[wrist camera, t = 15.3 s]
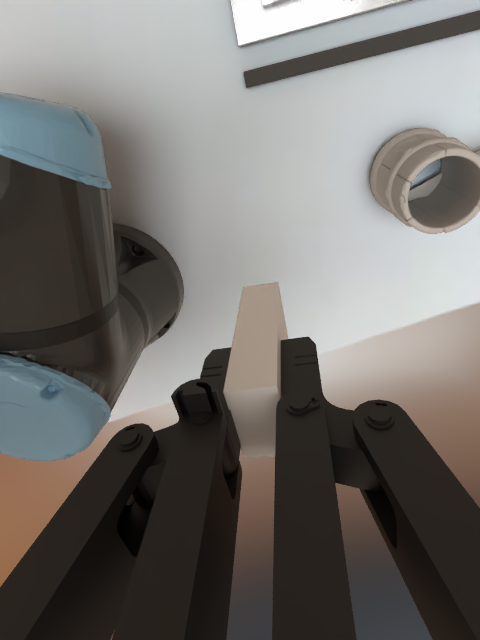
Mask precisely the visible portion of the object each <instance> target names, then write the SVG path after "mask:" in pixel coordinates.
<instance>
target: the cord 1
mask: <svg viewBox="0 0 480 640" xmlns="http://www.w3.org/2000/svg"><path fill="white" fill-rule="evenodd" d="M478 29H480V11H476V12H472V13H468V14H464V15H460V16H456V17H453V18H449V19H445V20H441V21H437V22H433V23H430V24H426V25H422V26H418V27H414V28H410V29H407V30H403V31H399V32H395V33H391V34H387V35H384V36H380V37H376V38H372V39H368V40H364V41H360V42H357V43H353V44H349V45H345V46H341V47H337V48H334V49H330V50H326V51H322V52H318V53H314V54H311V55H307V56H303V57H299V58H295V59H291V60H288V61H284V62H280V63H276V64H272V65H268V66H264V67H261V68H257V69H253V70H249V71H245V72H244V77H245V83H246V88H248V87H252V86H256V85H260V84H264V83H268V82H272V81H276V80H280V79H284V78H288V77H292V76H296V75H300V74H304V73H308V72H312V71H316V70H320V69H324V68H328V67H332V66H336V65H340V64H344V63H348V62H352V61H356V60H359V59H363V58H367V57H371V56H375V55H379V54H383V53H387V52H391V51H395V50H399V49H403V48H407V47H411V46H415V45H419V44H423V43H427V42H431V41H435V40H439V39H443V38H447V37H451V36H455V35H459V34H463V33H467V32H471V31H474V30H478Z"/></svg>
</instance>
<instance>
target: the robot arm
mask: <svg viewBox="0 0 480 640" xmlns="http://www.w3.org/2000/svg"><path fill="white" fill-rule="evenodd" d="M109 189H112V187H111V181H110V180H109V179H108V177H107V171H106V165H105V159H104V152H103V145H102V139H101V135H100V132H99V129H98V127H97V126H96V124H95V123H94V121H93V120H92V119H91V118H90V117H89V116H88V115H87V114H86V113H84V112H83V111H81V110H79V109H77V108H75V107H71V106H68V105H64V104H59V103H55V102H50V101H45V100H40V99H35V98H30V97H25V96H19V95H14V94H8V93H3V92H0V453H2V454H5V455H8V456H11V457H16V458H20V459H26V460H33V461H56V460H62V459H66V458H69V457H71V456H74V455H75V454H77V453H78V452H81V451H83V450H85V449H86V448H87V447H88V446H89V445H90V444H91V443H92V442H93V440H94V439H95V438H96V436H97V435H98V433H99V432H100V430H101V429H102V427H103V426H104V425H105V424H106V423H107V422H108V420H109V418H110V416H111V415H110V413H111V411H112V409H113V407H114V405H115V403H116V401H117V399H118V397H119V395H120V393H121V392H122V390H123V388H124V386H125V384H126V382H127V380H128V378H129V376H130V374H131V372H132V370H133V368H134V366H135V364H136V362H137V360H138V358H139V356H140V355H141V353H142V351H143V349H144V348H146V347H147V346H149V345H150V344H151V343H153V342H154V341H156V340H157V339H159V338H160V337H162V336H163V335H164V334H165V333H166V332H167V331H168V330H169V329H170V328H171V326H172V325H173V323H174V322H175V320H176V318H177V316H178V313H179V311H180V309H181V306H182V302H183V293H184V292H183V282H182V278H181V275H180V272H179V269H178V267H177V265H176V263H175V262H174V260H173V258H172V257H171V256H170V254H169V253H168V252H167V251H166V250H165V249H164V248H163V247H162V246H161V245H160V244H159V243H158V242H157V241H156V240H154V239H153V238H151V237H150V236H148V235H147V234H145V233H143V232H141V231H139V230H136V229H134V228H131V227H127V226H123V225H117V224H112V213H111V201H110V190H109ZM202 369H203V370H202V372H201V376H200V377H201V378H200V379H195V380H191V381H188V382H186V383H184V384H182V385H181V386H179V387H178V388H177V389H176V390H175V391H174V393H173V394H172V396H171V398H172V400H173V403H174V405H175V408H176V410H177V412H178V415H179V421H178V423H176V424H174V425H172V426H169V427H167V428H164V429H161V430H158V431H155V432H153V430H152V429H151V428H150V427H149V426H148V425H146V424H133V425H130V426H127V427H125V428H123V429H122V430H120V431H119V432H118V433H117V434H116V435H115V436H114V437H113V438H112V439H111V440H110V441H109V443H108V444H107V446H106V447H105V448H104V449H103V451H102V452H101V453H100V455H99V456H98V458H97V459H96V460H95V461H94V463H93V464H92V466H91V467H90V468H89V470H88V471H87V472H86V473H85V475H84V476H83V478H82V479H81V480H80V481H79V483H78V484H77V485H76V487H75V488H74V489H73V491H72V492H71V493H70V495H69V496H68V498H67V499H66V500H65V502H64V503H63V504H62V506H61V507H60V508H59V510H58V511H57V512H56V514H55V515H54V516H53V518H52V519H51V520H50V522H49V523H48V524H47V526H46V527H45V528H44V530H43V531H42V532H41V534H40V535H39V536H38V538H37V539H36V540H35V542H34V543H33V544H32V546H31V547H30V548H29V550H28V551H27V552H26V554H25V555H24V556H23V558H22V559H21V560H20V562H19V563H18V564H17V566H16V567H15V568H14V570H13V571H12V572H11V574H10V575H9V576H8V578H7V579H6V580H5V582H4V583H3V585H2V586H1V587H0V640H110V639H111V636H112V634H113V633H114V635H113V639H112V640H226V638H227V628H228V617H229V607H230V606H229V605H230V595H231V586H232V575H233V565H234V554H235V544H236V533H237V522H238V512H239V502H240V491H241V480H242V468H241V465H240V461H239V455H240V448H241V451H242V454H243V457H244V458H251V457H252V458H253V457H266V456H275V502H274V503H275V505H274V564H273V565H274V566H273V567H274V568H273V627H272V640H357V639H356V632H355V625H354V619H353V618H354V617H353V611H352V603H351V596H350V588H349V581H348V574H347V566H346V559H345V552H344V544H343V537H342V530H341V522H340V516H339V508H338V501H337V494H336V487H335V483H339V484H343V485H347V486H352V487H356V488H359V489H360V491H361V493H362V496H363V497H364V500H365V502H366V504H367V505H368V508H369V510H370V511H371V514H372V516H373V518H374V520H375V522H376V524H377V526H378V528H379V530H380V532H381V534H382V537H383V538H384V541H385V543H386V545H387V547H388V549H389V551H390V553H391V555H392V557H393V559H394V561H395V563H396V565H397V567H398V569H399V571H400V573H401V576H402V578H403V580H404V582H405V584H406V586H407V588H408V590H409V592H410V594H411V596H412V598H413V600H414V602H415V604H416V606H417V608H418V611H419V612H420V615H421V617H422V619H423V621H424V623H425V624H426V627H427V629H428V631H429V633H430V635H431V637H432V639H433V640H480V508H479V507H478V506H477V504H476V503H475V502H474V500H473V499H472V498H471V496H470V495H469V494H468V492H467V491H466V490H465V489H464V487H463V486H462V485H461V484H460V482H459V481H458V479H457V478H456V477H455V476H454V474H453V473H452V472H451V470H450V469H449V468H448V467H447V465H446V464H445V463H444V461H443V460H442V459H441V457H440V456H439V455H438V454H437V452H436V451H435V450H434V448H433V447H432V446H431V444H430V443H429V442H428V441H427V439H426V438H425V437H424V435H423V434H422V433H421V431H420V430H419V429H418V428H417V426H416V425H415V424H414V422H413V421H412V420H411V418H410V417H409V416H408V415H407V413H406V412H405V411H404V410H403V409H402V408H401V407H400V406H398V405H397V404H394V403H392V402H390V401H384V400H371V401H367V402H365V403H363V404H360V405H359V406H358V407H357V408H356V409H355V410H354V411H353V410H346V409H342V408H338V407H336V406H334V405H332V404H331V403H329V402H328V401H327V400H326V399H325V397H324V395H323V392H322V387H321V379H320V372H319V365H318V358H317V351H316V344H315V343H314V342H313V341H312V340H311V339H310V338H309V337H302V338H294V339H288V334H287V329H286V323H285V318H284V312H283V307H282V301H281V296H280V290H279V285H278V282H275V283H269V284H262V285H256V286H250V287H243V290H242V295H241V300H240V306H239V311H238V316H237V322H236V327H235V332H234V338H233V343H232V348H224V349H216V350H212V351H211V353H210V354H209V355H208V356H207V357H206V359H205V361H204V365H203V368H202ZM114 631H115V632H114Z"/></svg>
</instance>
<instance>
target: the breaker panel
mask: <svg viewBox="0 0 480 640" xmlns="http://www.w3.org/2000/svg"><path fill="white" fill-rule="evenodd" d="M408 1H411V0H231V5H232V11H233V16H234V22H235V28H236V33H237V39H238V45H239V46H240V47H243V46H247V45H250V44H254V43H258V42H261V41H265V40H269V39H272V38H276V37H280V36H283V35H287V34H290V33H294V32H298V31H301V30H305V29H309V28H312V27H316V26H320V25H323V24H327V23H331V22H334V21H338V20H342V19H345V18H349V17H353V16H356V15H360V14H364V13H367V12H371V11H375V10H378V9H382V8H386V7H389V6H393V5H397V4H400V3H404V2H408Z"/></svg>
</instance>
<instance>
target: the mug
mask: <svg viewBox="0 0 480 640" xmlns="http://www.w3.org/2000/svg"><path fill="white" fill-rule="evenodd" d="M440 158H441V170H440V173H439V175H437V176H435V177H433V178H432V179H430V180H428V181H426V182H425V183H423V184H421V185H419V186H418V187H416V188H414V189H412V190H410V187H411V184H412V182H413V181H414V179H415V178H416V176H417V175H418V174H419V173H420V172H421V171H422V170H423V169H424V168H425V167H426V166H427V165H429V164H430V163H432V162H434V161H436V160H438V159H440ZM370 184H371V189H372V192H373V195H374V197H375V198H376V200H377V201H378V203H379V204H380V205H381V206H382V207H383V208H385V209H386V210H388V211H389V212H391V213H393V214H394V215H395V217H396V218H397V219H399V220H400V221H401V222H403V223H404V224H405V225H407V226H409V227H413V228H415V229H417V230H419V231H421V232H424V233H428V234H437V233H442V232H445V233H447V232H451V231H453V230H456V229H458V228H460V227H461V226H463V225H465V224H466V223H467V222H469V221H470V220H471V219H472V218H473V217H474V216H475V215H476V214H477V213H478V212H479V210H480V206H479V205H480V150H479V151H477V152H475V153H474V152H472V151H471V150H470V149H469V148H468V147H467V146H466V145H465V144H463V143H462V142H460V141H459V140H458V139H456V138H447V137H446V136H445V135H444V134H442V133H441V132H440V131H438V130H435V129H433V130H432V129H427V128H417V129H411V130H408V131H405V132H403V133H400V134H399V135H397V136H395V137H394V138H392V139H391V140H390V141H389V142H387V143H386V144H385V145H384V146H383V147H382V149H381V150H380V151H379V153H378V154H377V156H376V159H375V161H374V162H373V165H372V169H371V175H370ZM409 190H410V191H409ZM414 198H417V199H414ZM408 199H414V200H411V201H408Z"/></svg>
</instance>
